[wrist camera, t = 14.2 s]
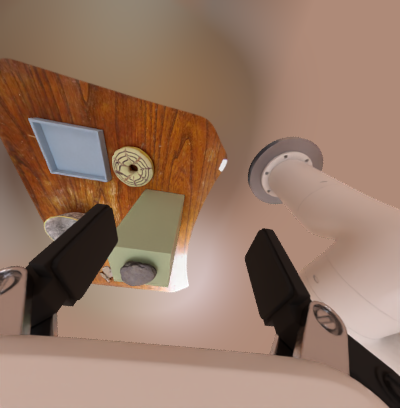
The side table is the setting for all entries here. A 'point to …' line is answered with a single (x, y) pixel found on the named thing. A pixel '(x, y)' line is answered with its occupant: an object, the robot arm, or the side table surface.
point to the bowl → (60, 224)
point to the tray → (72, 149)
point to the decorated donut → (135, 157)
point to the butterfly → (106, 273)
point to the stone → (137, 273)
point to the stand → (149, 235)
